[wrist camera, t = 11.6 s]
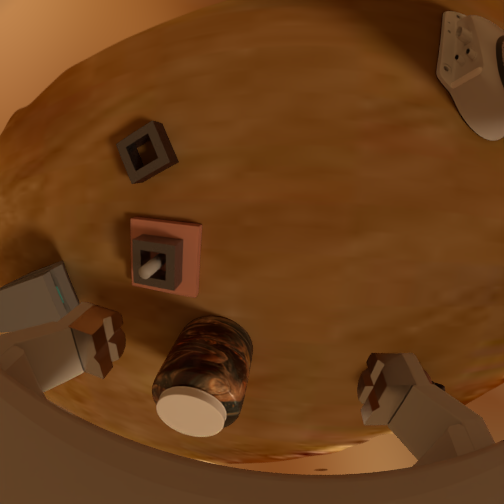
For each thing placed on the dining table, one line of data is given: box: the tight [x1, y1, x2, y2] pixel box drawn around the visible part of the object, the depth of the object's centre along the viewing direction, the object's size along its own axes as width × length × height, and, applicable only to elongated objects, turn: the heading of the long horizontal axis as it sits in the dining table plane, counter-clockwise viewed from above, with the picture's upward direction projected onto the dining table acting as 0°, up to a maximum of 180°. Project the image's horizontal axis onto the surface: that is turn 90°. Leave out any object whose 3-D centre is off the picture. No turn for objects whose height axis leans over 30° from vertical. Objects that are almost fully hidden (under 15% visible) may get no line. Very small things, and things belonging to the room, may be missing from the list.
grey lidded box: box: [0, 261, 80, 332], centre depth 38 cm, size 25×8×11 cm, turn 105°
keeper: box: [131, 217, 202, 298], centre depth 35 cm, size 10×10×7 cm
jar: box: [152, 316, 253, 437], centre depth 35 cm, size 12×12×15 cm
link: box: [132, 234, 183, 291], centre depth 35 cm, size 6×6×3 cm
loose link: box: [116, 121, 179, 184], centre depth 33 cm, size 6×6×3 cm
